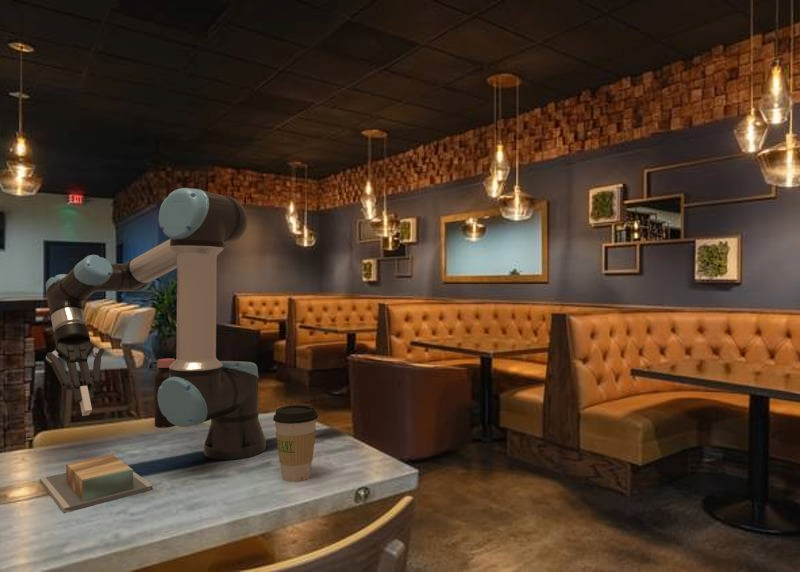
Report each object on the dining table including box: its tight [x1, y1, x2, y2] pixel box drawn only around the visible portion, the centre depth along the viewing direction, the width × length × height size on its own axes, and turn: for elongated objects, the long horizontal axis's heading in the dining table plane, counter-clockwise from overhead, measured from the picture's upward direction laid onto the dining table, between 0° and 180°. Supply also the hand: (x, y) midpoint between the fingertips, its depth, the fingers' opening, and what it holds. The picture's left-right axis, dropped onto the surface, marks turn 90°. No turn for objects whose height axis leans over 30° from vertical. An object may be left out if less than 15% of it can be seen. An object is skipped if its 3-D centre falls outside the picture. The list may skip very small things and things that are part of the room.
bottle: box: [153, 357, 176, 428], centre depth 163 cm, size 7×7×20 cm
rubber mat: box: [39, 470, 153, 514], centre depth 114 cm, size 22×16×1 cm
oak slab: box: [65, 453, 134, 501], centre depth 112 cm, size 4×9×14 cm
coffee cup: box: [272, 404, 319, 483], centre depth 118 cm, size 10×10×15 cm
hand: (87, 412), depth 127 cm, fingers closed
